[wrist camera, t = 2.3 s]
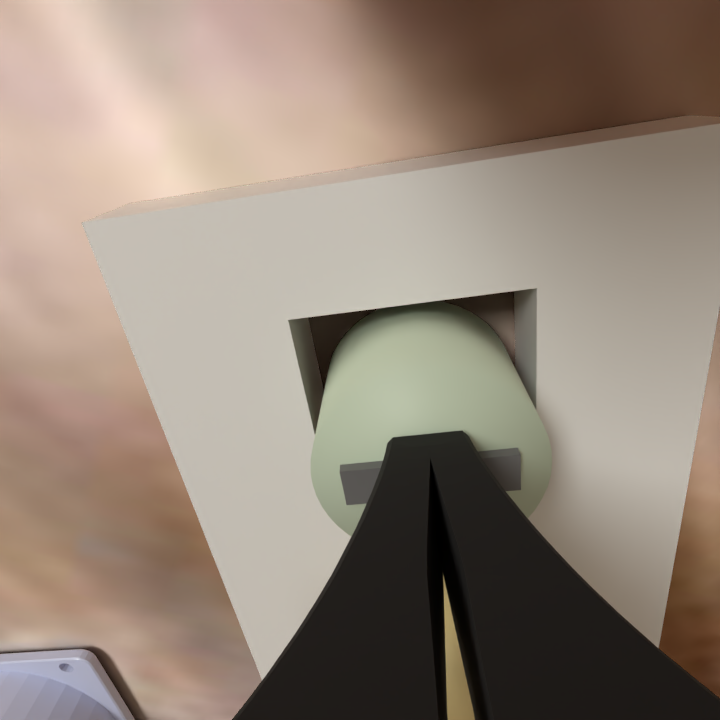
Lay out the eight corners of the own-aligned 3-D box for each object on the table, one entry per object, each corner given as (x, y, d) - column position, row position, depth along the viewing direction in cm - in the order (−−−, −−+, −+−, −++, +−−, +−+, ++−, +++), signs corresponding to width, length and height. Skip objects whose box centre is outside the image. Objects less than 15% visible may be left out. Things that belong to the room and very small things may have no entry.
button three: (343, 467, 13) (332, 574, 10) (311, 313, 11) (285, 390, 8) (513, 450, 13) (552, 557, 10) (510, 287, 11) (558, 358, 8)
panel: (322, 763, 22) (317, 821, 20) (128, 203, 11) (81, 222, 10) (607, 753, 21) (629, 814, 19) (688, 115, 10) (753, 118, 8)
